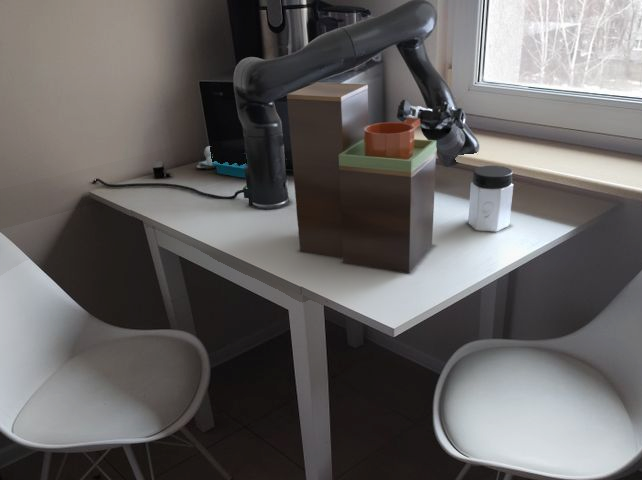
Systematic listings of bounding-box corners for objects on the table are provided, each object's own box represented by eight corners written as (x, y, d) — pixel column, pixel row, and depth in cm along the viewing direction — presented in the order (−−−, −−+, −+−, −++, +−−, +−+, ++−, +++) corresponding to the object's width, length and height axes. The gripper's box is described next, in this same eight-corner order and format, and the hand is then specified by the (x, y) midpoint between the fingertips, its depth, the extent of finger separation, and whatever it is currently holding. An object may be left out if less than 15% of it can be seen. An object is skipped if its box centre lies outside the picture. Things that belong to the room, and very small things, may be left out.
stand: (325, 230, 139) (316, 82, 122) (432, 245, 129) (438, 87, 112) (295, 255, 128) (281, 96, 112) (409, 273, 119) (412, 103, 102)
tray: (368, 145, 124) (368, 135, 123) (436, 151, 119) (436, 140, 118) (338, 165, 114) (338, 154, 112) (411, 172, 108) (411, 161, 107)
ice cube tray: (237, 162, 187) (235, 152, 186) (291, 170, 178) (290, 160, 176) (211, 173, 179) (209, 162, 178) (266, 182, 170) (265, 171, 168)
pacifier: (192, 169, 184) (206, 171, 181) (188, 147, 181) (202, 149, 177) (210, 162, 189) (224, 165, 185) (207, 141, 185) (220, 143, 182)
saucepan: (393, 135, 128) (393, 110, 125) (435, 138, 125) (436, 112, 122) (357, 160, 114) (356, 132, 111) (403, 164, 111) (403, 135, 108)
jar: (465, 230, 135) (469, 175, 129) (470, 216, 142) (474, 164, 135) (507, 233, 133) (513, 177, 126) (510, 219, 139) (516, 166, 133)
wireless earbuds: (154, 180, 176) (152, 168, 174) (155, 172, 182) (153, 161, 180) (171, 178, 177) (169, 166, 175) (171, 171, 183) (169, 160, 181)
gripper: (415, 111, 144) (393, 85, 129) (475, 114, 139) (459, 88, 124) (409, 143, 145) (386, 121, 130) (468, 148, 140) (452, 125, 125)
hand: (422, 105), depth 127 cm, fingers open, 8 cm apart
